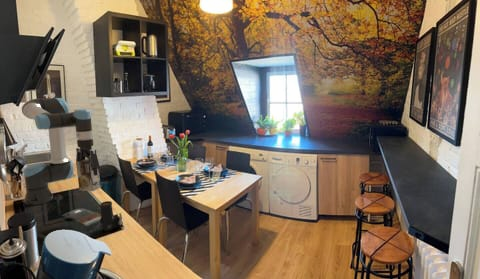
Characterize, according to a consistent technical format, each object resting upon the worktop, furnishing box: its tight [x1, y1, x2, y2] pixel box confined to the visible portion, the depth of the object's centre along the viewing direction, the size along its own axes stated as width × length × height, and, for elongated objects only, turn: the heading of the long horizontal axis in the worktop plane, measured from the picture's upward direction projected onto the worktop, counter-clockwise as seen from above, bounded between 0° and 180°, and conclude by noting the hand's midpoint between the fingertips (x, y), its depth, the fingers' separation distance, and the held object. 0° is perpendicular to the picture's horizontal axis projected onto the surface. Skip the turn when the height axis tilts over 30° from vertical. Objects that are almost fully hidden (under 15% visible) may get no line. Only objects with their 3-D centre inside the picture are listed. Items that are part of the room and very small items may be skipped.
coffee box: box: [75, 158, 102, 192], centre depth 160 cm, size 9×6×16 cm
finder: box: [68, 208, 86, 220], centre depth 164 cm, size 6×5×3 cm
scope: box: [98, 200, 124, 232], centre depth 151 cm, size 8×14×10 cm
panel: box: [61, 207, 101, 227], centre depth 165 cm, size 23×12×1 cm, turn 60°
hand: (89, 179), depth 160 cm, fingers closed on coffee box, 10 cm apart
